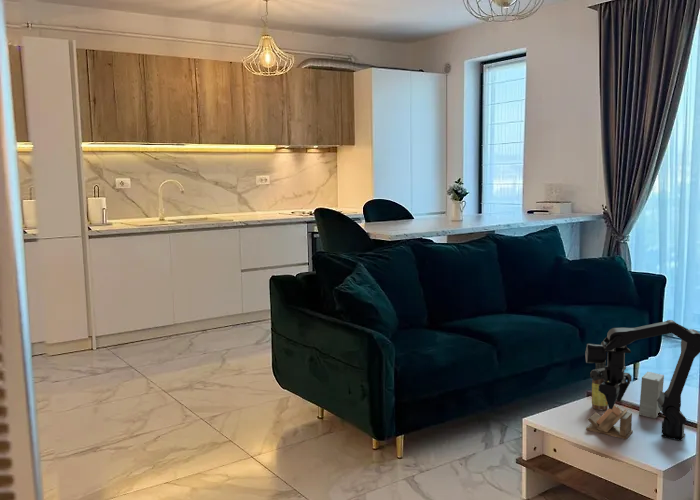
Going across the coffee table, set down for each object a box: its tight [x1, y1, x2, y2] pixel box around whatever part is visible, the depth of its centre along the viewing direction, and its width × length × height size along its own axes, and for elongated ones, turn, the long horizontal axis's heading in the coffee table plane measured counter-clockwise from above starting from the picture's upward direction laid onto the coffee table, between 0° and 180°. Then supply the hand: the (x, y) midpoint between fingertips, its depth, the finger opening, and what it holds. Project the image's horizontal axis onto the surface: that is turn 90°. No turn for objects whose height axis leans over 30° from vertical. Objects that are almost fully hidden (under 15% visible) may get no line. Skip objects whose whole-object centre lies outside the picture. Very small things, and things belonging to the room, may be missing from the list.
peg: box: [596, 404, 622, 425], centre depth 233 cm, size 8×4×4 cm
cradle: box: [585, 406, 634, 440], centre depth 234 cm, size 14×8×9 cm, turn 50°
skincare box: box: [638, 371, 665, 419], centre depth 248 cm, size 8×7×16 cm
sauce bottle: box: [591, 360, 609, 411], centre depth 255 cm, size 6×6×20 cm
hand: (614, 405), depth 232 cm, fingers open, 9 cm apart
